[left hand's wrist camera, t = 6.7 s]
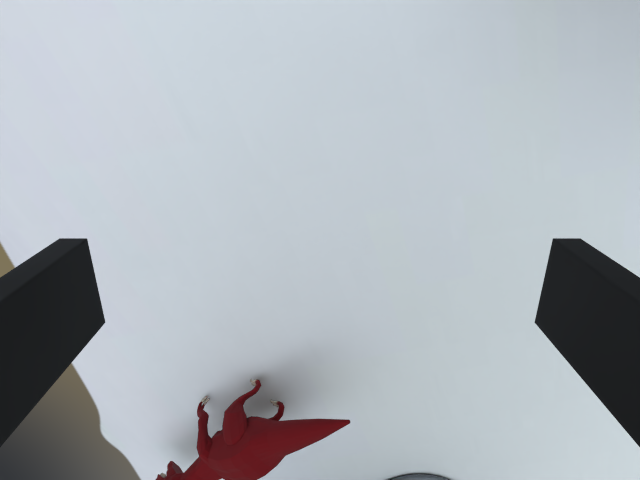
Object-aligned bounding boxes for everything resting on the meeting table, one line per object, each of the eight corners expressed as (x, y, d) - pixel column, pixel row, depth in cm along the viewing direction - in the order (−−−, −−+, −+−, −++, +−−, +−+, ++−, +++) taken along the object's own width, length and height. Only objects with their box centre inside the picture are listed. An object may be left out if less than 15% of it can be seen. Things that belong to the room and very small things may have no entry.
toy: (206, 369, 54) (115, 485, 45) (335, 371, 36) (223, 570, 27) (244, 405, 56) (165, 522, 48) (385, 424, 38) (297, 625, 29)
